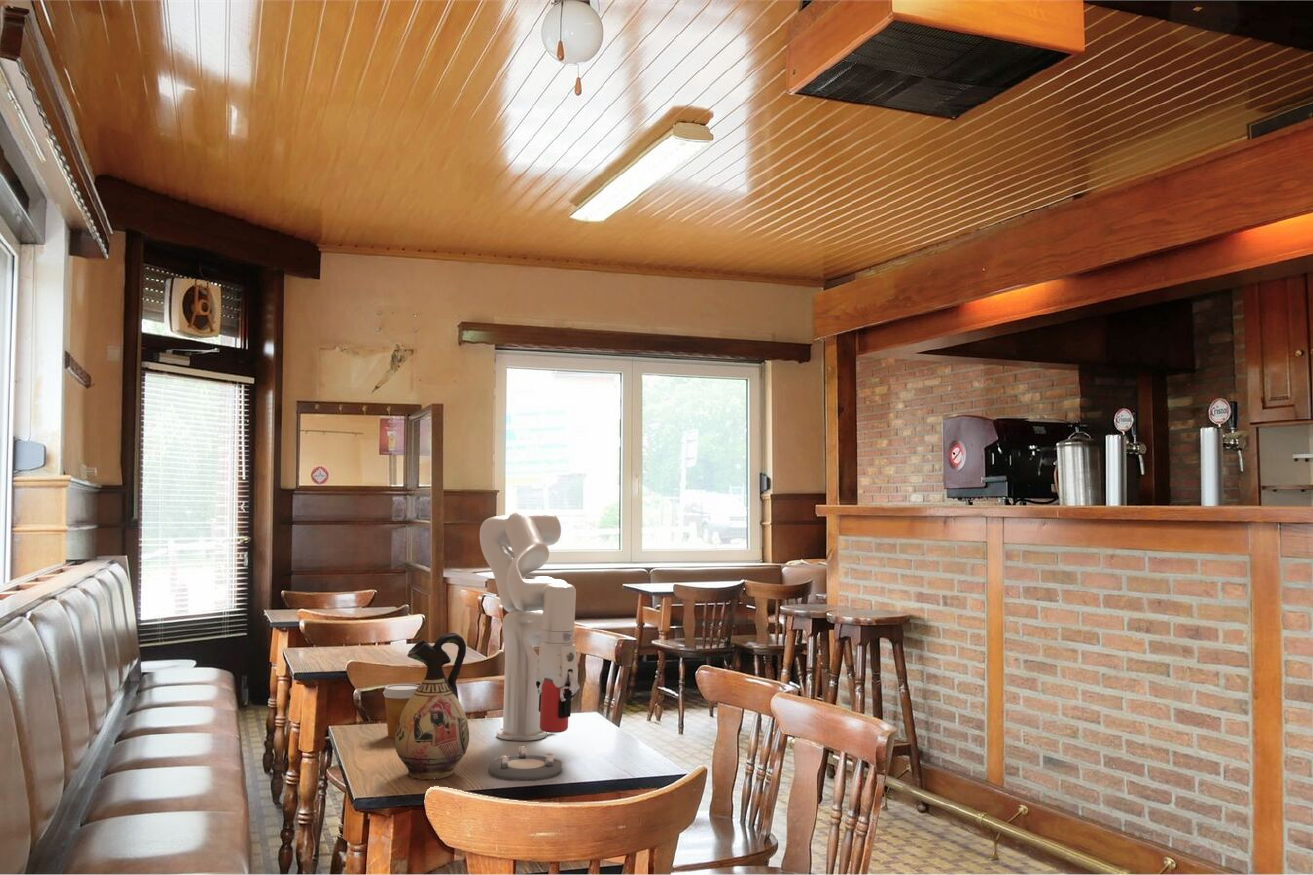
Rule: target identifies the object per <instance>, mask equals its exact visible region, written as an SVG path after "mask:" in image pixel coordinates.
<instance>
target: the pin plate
mask: <svg viewBox="0 0 1313 875" xmlns="http://www.w3.org/2000/svg"><path fill="white" fill-rule="evenodd" d="M562 773H563V762H562V761H561V760H560V759H557V758H554V757H553V767H546V756H544V755H543V756H542V755H527V754H526V758H525V759H519V755H511V756H509V755H508V769H501V757H499V758H495V759H492V760H491V761H489V762H488V763H487V774H488V775H490V776H491V777H493V778H496V779H501V780H505V781H518V782H520V781H521V782H523V781H525V782H526V781H527V782H529V781H539V780H540V781H541V780H546V779H552V778H554V777H557V776H559V775H562Z"/></svg>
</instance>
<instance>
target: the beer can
mask: <svg viewBox="0 0 1313 875" xmlns="http://www.w3.org/2000/svg"><path fill="white" fill-rule="evenodd" d="M564 686H567V684H565V685H564ZM566 692H567V689H565V690H564V693H566ZM559 701H561V698H560V693H559V688H556V687H555V685H554V683H553V680H548V679H546V678H544V681H543V684H542V687H541V708H540V729H541V730H542V731H545V732H547V733H549V734H550V733H551V734H556V733H557V734H559V733H563V732H566V731H567V730H568V729H569V717H567V718H561V719H560V718H558V709H559Z"/></svg>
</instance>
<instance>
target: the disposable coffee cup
mask: <svg viewBox="0 0 1313 875" xmlns="http://www.w3.org/2000/svg"><path fill="white" fill-rule="evenodd" d="M419 685H420V684H419ZM419 685H418V684H414V683H413V684H411V683H400V684H399V683H398V684H397V683H396V684H389V685H386V686H385V687H384V691H383V692H382V694H383V696H384V703H385V705H384V706H385V714H386V727H387V737H388V738H390V739H391V738H392V739H395V735H396V730H397V726H398V723H399V719H400V716H401V714H402V712H403V710H404V708H405V706H406V704H407V703H408V701H409V699H410V698H411V697H412V695H413V693H414V692H415V690H416V689H417V688H418V686H419Z"/></svg>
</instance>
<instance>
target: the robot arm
mask: <svg viewBox="0 0 1313 875" xmlns="http://www.w3.org/2000/svg"><path fill="white" fill-rule="evenodd" d="M561 534H562V526H561V522H560V520H559V518H558V517H557V515H556V514H554V513H552V512H550V511H517V512H513V513H512V514H510V515H498V516H497V515H495V516H492V517H489V518H487V519H485V520H484V521H483V522H482V524H481V525H480V529H479V543H480V548H481V552H482V554H483V557H484V559H485V561H486V563H487V564H488V566H489V567H490V570H491V571H492V573H493V577H494V581H495V584H496V589H497V593H498V597H499V600H500V603H501V606H502V607H503V610H505V611H506V612H507V613H506V614H505V615H504V617H503V618H502V619H503V620H502V626H501V630H502V637H503V638H502V639H503V644H504V645H503V646H504V678H503V679H504V681H503V682H504V683H503V684H504V685H503V716H502V717H503V718H502V728H499V729H497V731H496V737H497V738H498V739H502V740H506V741H514V742H516V741H519V742H520V741H521V742H526V741H527V742H528V741H537V740H541V739H545V738H546V737H547V735H548V732H545V731H542V730H541V729H540V708H541V687H542V684H543V681H544V678H546V679H548V680H553V683H554V685H555V687H556V688H559V693H560V698H561V701H559V709H558V718H560V719H561V718H567V717H568V718H570V717H571V709H572V700H573V699H574V697H575V695H576V693H577V692H578V691H579V690H580V684H579V682H578V676H579V675H578V673H579V671H578V670H579V668H578V654H577V653H578V652H577V646H576V644H574V642H575V620H576V599H577V589H576V587H575V585H573V584H571V583H568V582H567V581H566V580H564V579H559V578H554V577H551V576H548V575H547V576H546V575H529V574H531V573H533V572H535V571H537V570H539V569H540V568H542V567H543V566H544V565H545V564H546V563H547V561H548V559H549V557H550V550H549V548H548V547H549V546H552V545H555V544H556V543H557V542H558V541H559V540H560V538H561ZM510 548H511V549H510ZM534 648H539V651H538V653H537V652H536V651H535V649H534ZM565 684H567V686H564V685H565ZM565 689H567V692H566V693H564V690H565Z"/></svg>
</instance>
